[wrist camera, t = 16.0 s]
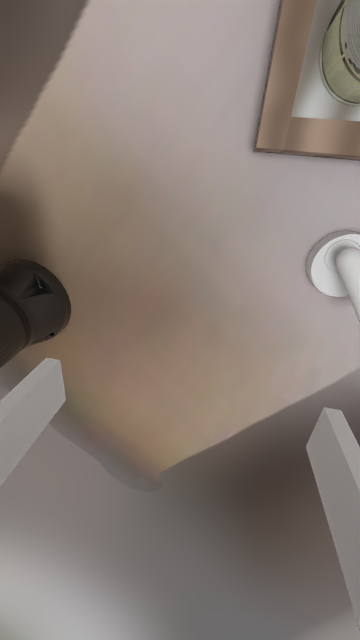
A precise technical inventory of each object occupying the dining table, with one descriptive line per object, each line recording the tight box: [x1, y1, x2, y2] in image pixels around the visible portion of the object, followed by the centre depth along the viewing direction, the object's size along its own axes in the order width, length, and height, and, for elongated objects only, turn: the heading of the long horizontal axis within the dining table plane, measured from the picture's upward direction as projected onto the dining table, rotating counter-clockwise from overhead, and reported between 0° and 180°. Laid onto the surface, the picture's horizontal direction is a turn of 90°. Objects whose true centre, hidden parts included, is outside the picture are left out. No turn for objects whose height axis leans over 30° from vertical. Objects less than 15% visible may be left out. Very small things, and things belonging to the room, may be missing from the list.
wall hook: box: [306, 231, 360, 321], centre depth 34 cm, size 9×10×10 cm
